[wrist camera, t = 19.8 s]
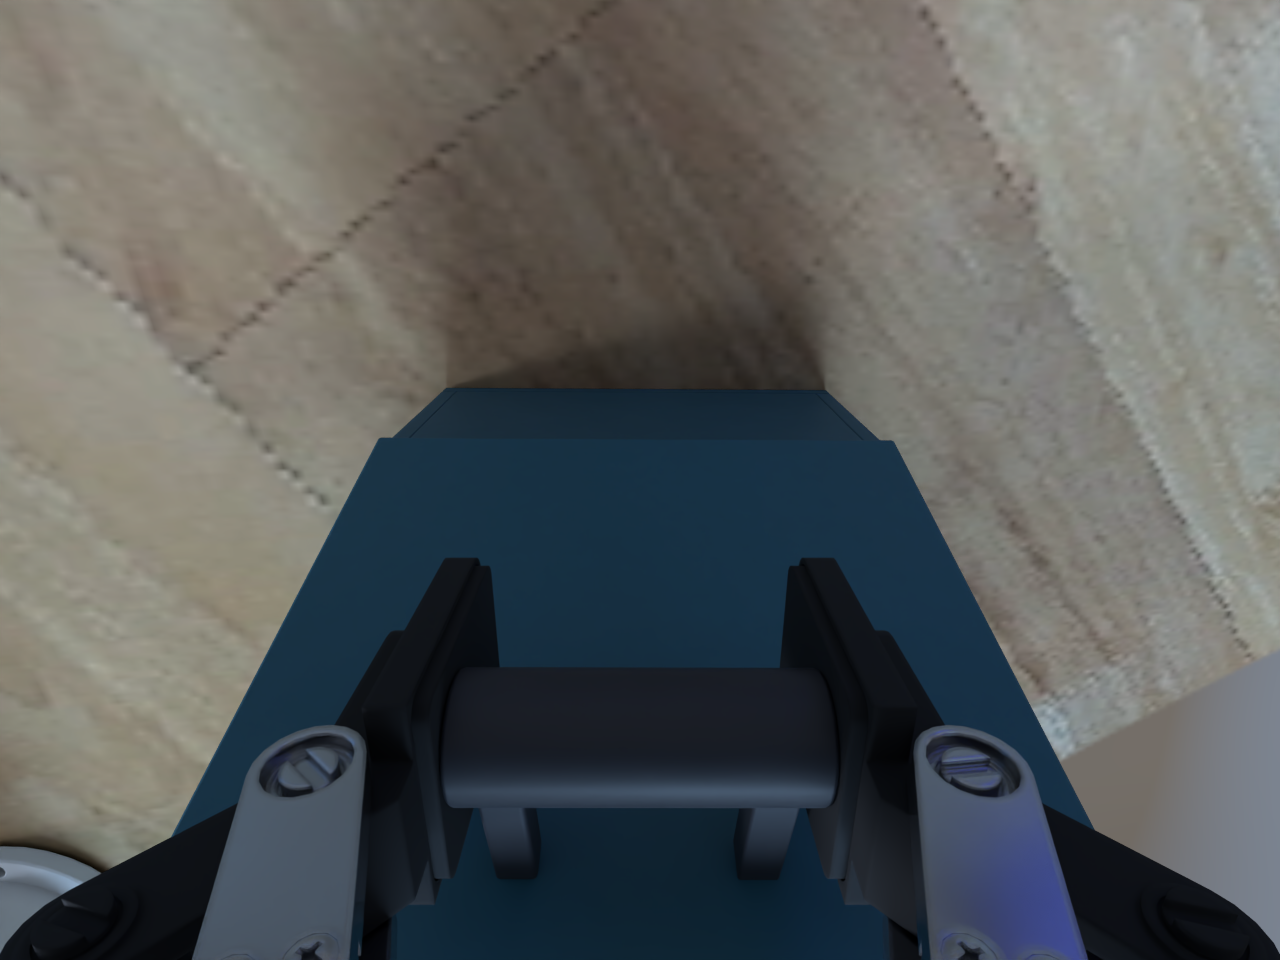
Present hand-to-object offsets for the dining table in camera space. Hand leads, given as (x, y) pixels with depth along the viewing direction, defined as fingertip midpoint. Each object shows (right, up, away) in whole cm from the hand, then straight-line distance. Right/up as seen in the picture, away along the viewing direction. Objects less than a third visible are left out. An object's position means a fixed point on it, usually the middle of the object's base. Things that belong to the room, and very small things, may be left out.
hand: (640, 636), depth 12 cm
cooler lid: (0, -1, +4) cm, 4 cm away
